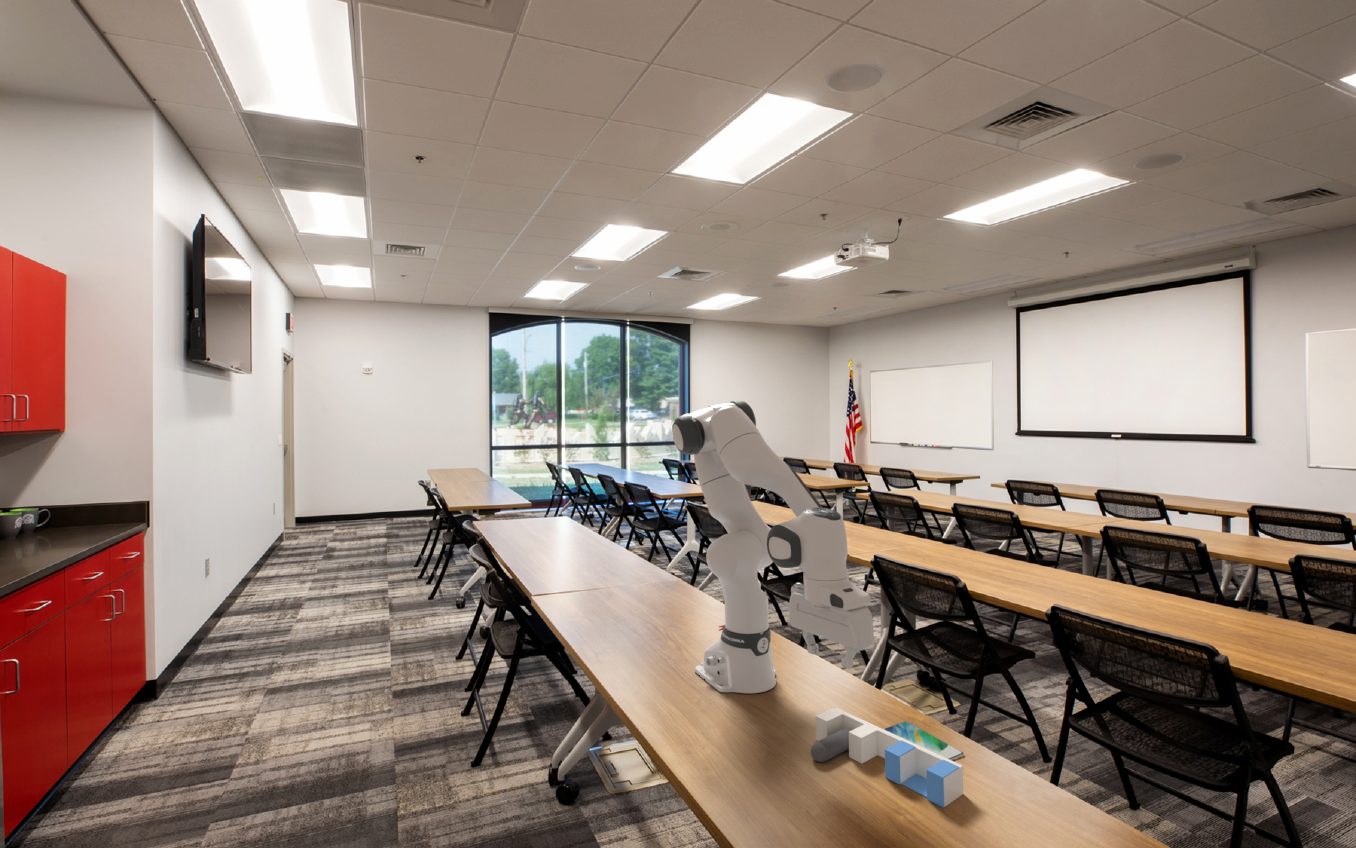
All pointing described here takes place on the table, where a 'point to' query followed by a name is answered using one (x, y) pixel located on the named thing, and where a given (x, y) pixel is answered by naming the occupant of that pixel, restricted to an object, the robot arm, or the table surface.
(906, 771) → the white slotted rack
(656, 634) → the table surface
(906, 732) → the smartphone
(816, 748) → the gray pill-shaped peg
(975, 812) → the table surface
